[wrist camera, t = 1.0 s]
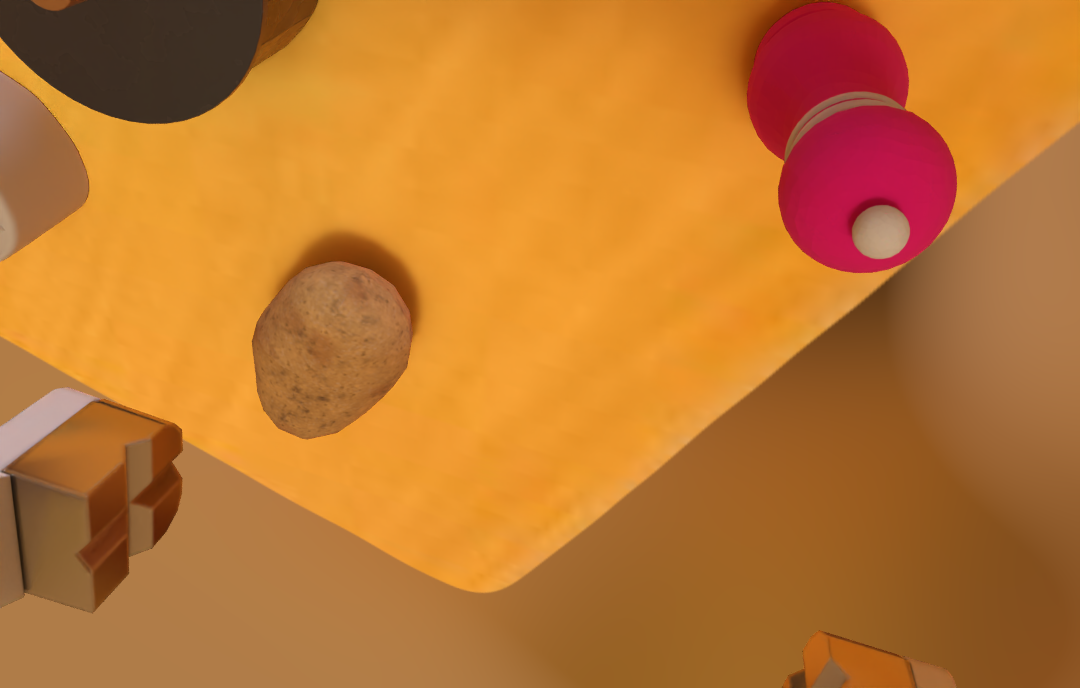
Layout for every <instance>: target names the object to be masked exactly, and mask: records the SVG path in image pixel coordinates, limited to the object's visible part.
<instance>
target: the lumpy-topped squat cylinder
mask: <svg viewBox="0 0 1080 688" xmlns="http://www.w3.org/2000/svg"><path fill="white" fill-rule="evenodd" d="M88 191H89V183H88V177H87V173H86V170H85V167H84V165H83V162H82V160H81V158H80V155H79V153H78V151H77V149H76V147H75V145H74V144H73V142H72V140H71V139H70V137H69V136H68V135H67V133H66V132H65V131H64V129H63V128H62V127H61V125H60V124H59V123H58V122H57V120H56V119H55V118H54V117H53V115H52V114H51V113H50V112H49V111H48V109H47V108H46V107H45V106H44V105H43V104H42V102H41V101H40V100H39V99H38V98H37V97H36V96H35V95H33V94H32V93H31V92H30V91H28V90H27V89H26V88H24V87H23V86H21V85H20V84H19V83H17V82H16V81H14V80H13V79H11V78H10V77H8V76H7V75H5V74H3V73H2V72H0V262H1V261H3V260H5V259H7V258H8V257H10V256H11V255H13V254H14V253H16V252H17V251H19V250H20V249H22V248H23V247H25V246H26V245H28V244H29V243H31V242H32V241H33V240H35V239H36V238H38V237H39V236H41V235H42V234H43V233H45V232H46V231H48V230H49V229H51V228H52V227H53V226H55V225H56V224H58V223H59V222H61V221H62V220H63V219H65V218H66V217H68V216H69V215H70V214H72V213H73V212H75V211H76V210H78V209H79V208H80V207H81V206H82V205H83V204H84V203H85V201H86V199H87V196H88Z"/></svg>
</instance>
